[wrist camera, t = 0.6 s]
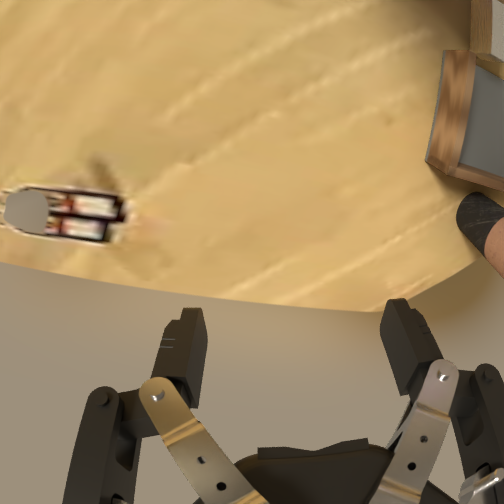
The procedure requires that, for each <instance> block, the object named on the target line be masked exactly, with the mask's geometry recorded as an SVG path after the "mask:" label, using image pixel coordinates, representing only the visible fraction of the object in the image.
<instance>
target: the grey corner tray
mask: <svg viewBox="0 0 504 504" xmlns="http://www.w3.org/2000/svg"><path fill="white" fill-rule="evenodd" d="M445 53H446V50H445V51H443V60H442V68H441V76H440V84H439V91H438V97H437V103H436V109H435V115H434V120H433V125H432V130H431V135H430V140H429V144H428V149H427V153H426V158H425V161H426V162H427V159H428V155H429V150H430V146H431V141H432V137H433V132H434V127H435V122H436V117H437V111H438V105H439V99H440V93H441V86H442V79H443V71H444V63H445ZM458 162H460V163H463V164H466V165H469V166H472V167H475V168H478V169H481V170H484V171H487V172H490V173H493V174H495V175H498V176H501V177H504V80H502V79H501V78H499V77H497V76H495V75H494V74H492V73H490V72H488V71H487V70H485V69H483V68H481V67H479V66H477V65H476V67H475V76H474V84H473V91H472V98H471V104H470V110H469V115H468V121H467V126H466V131H465V136H464V140H463V145H462V149H461V153H460V157H459V161H458Z"/></svg>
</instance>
